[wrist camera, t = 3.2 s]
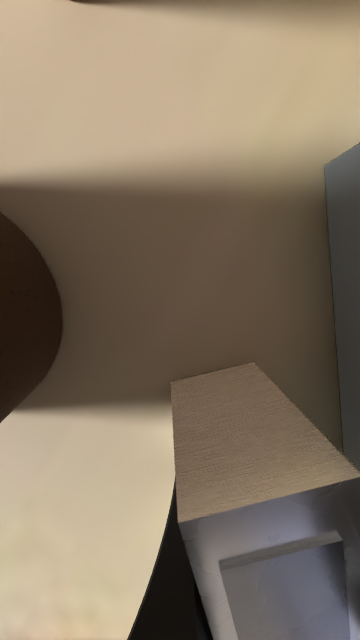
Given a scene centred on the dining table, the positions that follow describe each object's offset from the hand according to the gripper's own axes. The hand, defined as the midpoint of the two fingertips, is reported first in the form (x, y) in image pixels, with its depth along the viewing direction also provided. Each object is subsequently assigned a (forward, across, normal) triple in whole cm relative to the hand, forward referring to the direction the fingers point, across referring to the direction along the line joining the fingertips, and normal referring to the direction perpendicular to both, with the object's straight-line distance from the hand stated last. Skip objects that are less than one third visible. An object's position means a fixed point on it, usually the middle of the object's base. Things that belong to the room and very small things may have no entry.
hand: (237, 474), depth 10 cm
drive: (+1, 0, 0) cm, 1 cm away
